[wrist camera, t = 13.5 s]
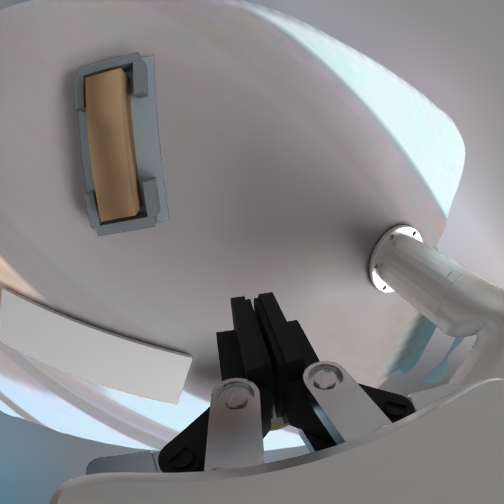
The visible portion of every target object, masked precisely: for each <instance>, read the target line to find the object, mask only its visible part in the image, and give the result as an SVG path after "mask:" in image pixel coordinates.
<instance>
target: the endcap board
mask: <svg viewBox="0 0 504 504" xmlns="http://www.w3.org/2000/svg"><path fill="white" fill-rule="evenodd" d="M120 68H121V69H122V70H123V71H124V72H125V74H126V75H127V76H128V77H129V78H130V87H131V107H132V122H133V134H134V144H135V153H136V162H137V170H138V177H139V184H140V191H141V198H142V204H143V206H142V207H141V208H140V210H139V211H138V212H137V214H136V215H135V216H130V217H124V218H118V219H113V220H108V221H103V222H101V218H100V213H99V208H98V203H97V198H96V192H95V186H94V180H93V173H92V166H91V158H90V150H89V140H88V128H87V113H86V78H87V77H90V76H93V75H97V74H100V73H104V72H108V71H111V70H115V69H120ZM74 103H75V110H77V111H78V117H79V132H80V143H81V152H82V160H83V168H84V175H85V181H86V187H87V193H86V194H84V196H85V201H86V206H87V211H88V216H89V220H90V225H91V228H92V227H94V228H95V232H96V233H97V235H98V236H103V235H108V234H114V233H120V232H125V231H131V230H137V229H143V228H149V227H155V225H156V222H161V221H167V220H169V213H168V206H167V199H166V192H165V185H164V177H163V169H162V161H161V152H160V142H159V131H158V119H157V106H156V89H155V63H154V55H153V56H147V57H142V58H141V56H140V55H139V53H138V52H136V53H131V54H127V55H123V56H118V57H114V58H111V59H107V60H103V61H100V62H96V63H93V64H90V65H86V66H83V67H80V68H79V74H78V77H77V78H74Z"/></svg>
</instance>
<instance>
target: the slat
mask: <svg viewBox="0 0 504 504" xmlns="http://www.w3.org/2000/svg"><path fill="white" fill-rule="evenodd" d="M86 113H87V128H88V140H89V150H90V158H91V166H92V173H93V180H94V186H95V192H96V198H97V203H98V208H99V213H100V218H101V222H103V221H108V220H113V219H118V218H124V217H130V216H135V215H136V214H137V212H138V211H139V210H140V208H141V207H142V206H143V204H142V198H141V191H140V184H139V177H138V170H137V162H136V153H135V144H134V134H133V122H132V107H131V87H130V78H129V77H128V76H127V75H126V74H125V72H124V71H123V70H122V69H121V68H120V69H115V70H111V71H108V72H104V73H100V74H97V75H93V76H90V77H87V78H86Z"/></svg>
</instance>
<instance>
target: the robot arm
mask: <svg viewBox="0 0 504 504" xmlns="http://www.w3.org/2000/svg"><path fill="white" fill-rule="evenodd" d="M369 274H370V279H371V281H372V283H373V284H374V286H375V287H376V288H378V289H379V290H380V291H382V292H394V291H395V292H396V293H398V294H399V295H400V296H401V297H402V298H404V299H405V300H406V301H407V302H408V303H410V304H411V305H412V306H413V307H414V308H416V309H417V310H418V311H419V312H420V313H421V314H423V315H424V316H425V317H426V318H427V319H428V320H430V321H431V322H432V323H433V324H434V325H435V326H436V327H438V328H439V329H440V330H441V331H442V332H444V333H445V334H446V335H448V336H451V337H455V338H461V337H468V336H472V335H476V336H477V338H476V341H475V343H474V345H473V346H472V349H471V350H470V352H469V353H468V355H467V356H466V358H465V359H464V361H463V362H462V364H461V365H460V367H459V368H458V370H457V371H456V372H455V374H454V375H453V376H452V378H451V379H450V381H449V382H448V384H446V385H443V386H440V387H436V388H432V389H429V390H424V391H420V392H416V393H412V394H409V396H408V397H404V396H402V395H398V394H395V393H391V392H387V391H383V390H380V389H376V388H372V387H369V386H365V385H362V384H358V383H357V382H356V381H355V380H354V379H353V378H352V377H351V375H350V374H349V373H348V372H347V371H346V370H345V369H344V368H343V367H342V366H341V365H339V364H337V363H335V362H330V361H319V359H318V357H317V355H316V353H315V352H314V350H313V348H312V346H311V344H310V342H309V341H308V339H307V337H306V335H305V333H304V331H303V330H302V328H301V326H300V324H299V322H298V321H297V320H294V321H288V322H287V321H286V319H285V317H284V315H283V313H282V311H281V309H280V307H279V305H278V303H277V301H276V299H275V297H274V294H273V293H272V292H271V293H264V294H259V295H258V298H254V309H253V306H252V303H251V300H250V299H247V300H245V297H244V296H243V297H235V298H231V307H232V316H233V324H234V330H231V331H224V332H216V334H217V343H218V352H219V360H220V368H221V376H222V382H220V383H219V384H218V385H216V387H215V388H214V389H213V392H212V395H211V404H210V407H209V408H208V409H207V410H206V411H205V412H204V413H202V414H201V415H200V416H199V417H198V418H197V419H196V420H195V421H194V422H192V423H191V424H190V425H189V426H188V427H187V428H186V429H184V430H183V431H182V432H181V433H180V434H179V435H177V436H176V437H175V438H174V439H173V440H172V441H170V442H169V443H168V444H167V445H166V446H164V448H163V449H162V450H161V451H158V452H153V453H152V452H151V451H150V450H149V451H144V452H138V453H133V454H125V455H118V456H109V457H100V458H96V459H94V460H92V461H91V462H90V463H89V464H88V466H87V468H86V475H85V476H81V477H77V478H74V479H71V480H68V481H66V482H64V483H62V484H61V485H60V486H59V487H58V488H57V489H56V490H55V492H54V494H53V496H52V498H51V500H50V504H504V289H502V288H500V287H498V286H496V285H494V284H493V283H491V282H489V281H488V280H486V279H484V278H483V277H481V276H479V275H478V274H476V273H475V272H473V271H471V270H470V269H468V268H466V267H465V266H463V265H461V264H460V263H458V262H456V261H455V260H453V259H451V258H449V257H448V256H446V255H444V254H442V253H441V252H439V251H438V249H437V248H432V247H430V246H428V245H426V244H424V243H423V241H422V238H421V236H420V233H419V232H418V231H417V230H416V229H414V228H413V227H411V226H408V225H399V226H396V227H393V228H392V229H390V230H389V231H388V232H386V233H385V234H384V235H383V236H382V238H381V239H380V240H379V242H378V243H377V245H376V246H375V249H374V251H373V253H372V256H371V259H370V265H369ZM273 407H274V410H275V413H276V416H277V418H278V417H282V418H283V421H284V424H286V423H289V425H291V426H294V427H296V428H298V429H297V430H298V432H299V435H300V436H301V438H302V440H303V441H304V443H305V445H306V446H307V448H308V450H309V451H310V453H309V454H305V455H302V456H298V457H294V458H289V459H285V460H281V461H276V462H271V463H265V464H264V448H263V438H264V437H265V436H266V435H267V433H268V432H269V431H270V430H271V419H273Z"/></svg>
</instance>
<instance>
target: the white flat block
mask: <svg viewBox="0 0 504 504" xmlns="http://www.w3.org/2000/svg"><path fill="white" fill-rule="evenodd" d="M0 341H1V342H2V343H4V344H6V345H8V346H10V347H12V348H14V349H15V350H17V351H19V352H21V353H23V354H25V355H27V356H29V357H32V358H34V359H36V360H38V361H40V362H42V363H45V364H47V365H49V366H51V367H54V368H56V369H59V370H61V371H64V372H66V373H69V374H71V375H74V376H76V377H79V378H82V379H85V380H88V381H90V382H93V383H96V384H99V385H102V386H106V387H109V388H112V389H115V390H119V391H122V392H126V393H129V394H133V395H137V396H141V397H145V398H149V399H153V400H158V401H162V402H167V403H172V404H178V401H179V398H180V395H181V392H182V389H183V386H184V383H185V380H186V377H187V374H188V371H189V368H190V365H191V362H192V359H193V358H192V356H191V355H189V354H185V353H181V352H177V351H173V350H169V349H165V348H161V347H158V346H154V345H151V344H147V343H144V342H140V341H137V340H134V339H131V338H127V337H124V336H121V335H118V334H115V333H112V332H109V331H106V330H103V329H101V328H98V327H95V326H92V325H89V324H87V323H84V322H81V321H79V320H76V319H74V318H71V317H69V316H66V315H64V314H61V313H59V312H57V311H54V310H52V309H50V308H47V307H45V306H43V305H41V304H38V303H36V302H34V301H32V300H30V299H28V298H26V297H24V296H22V295H19V294H17V293H15V292H13V291H12V290H10V289H8V288H2V294H1V308H0Z"/></svg>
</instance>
